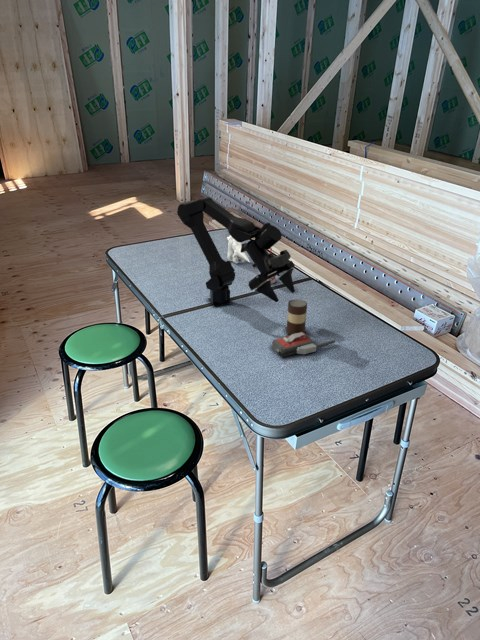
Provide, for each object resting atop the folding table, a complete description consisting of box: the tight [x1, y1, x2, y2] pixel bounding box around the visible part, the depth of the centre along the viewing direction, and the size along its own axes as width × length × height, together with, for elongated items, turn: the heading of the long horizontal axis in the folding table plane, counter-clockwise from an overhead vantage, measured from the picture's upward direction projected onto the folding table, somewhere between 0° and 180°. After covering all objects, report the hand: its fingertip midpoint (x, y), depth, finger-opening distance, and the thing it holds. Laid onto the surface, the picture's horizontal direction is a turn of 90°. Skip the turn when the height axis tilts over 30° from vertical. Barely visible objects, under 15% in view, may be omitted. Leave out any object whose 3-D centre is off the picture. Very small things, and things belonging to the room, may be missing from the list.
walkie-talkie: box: [271, 332, 336, 358], centre depth 151 cm, size 9×4×20 cm
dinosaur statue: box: [226, 234, 251, 264], centre depth 212 cm, size 7×24×11 cm, turn 25°
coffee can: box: [286, 298, 308, 336], centre depth 159 cm, size 6×6×11 cm
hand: (285, 296), depth 158 cm, fingers open, 9 cm apart
